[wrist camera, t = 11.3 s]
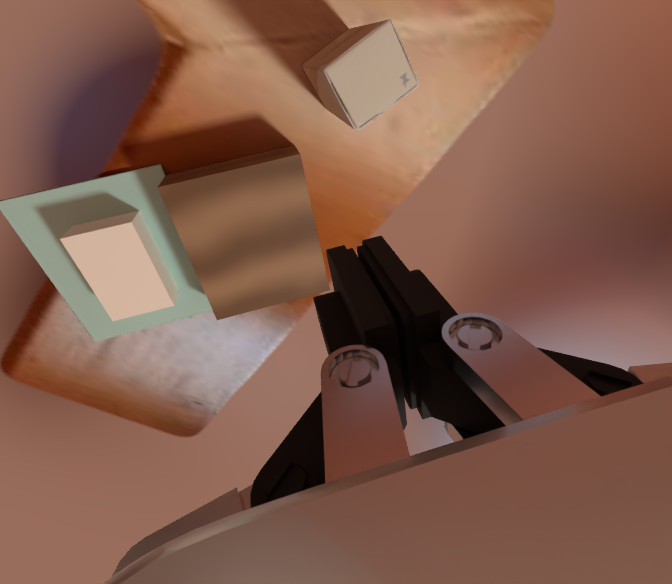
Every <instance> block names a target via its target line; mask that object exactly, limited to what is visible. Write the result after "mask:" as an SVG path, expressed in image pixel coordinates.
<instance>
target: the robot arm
mask: <svg viewBox="0 0 672 584" xmlns="http://www.w3.org/2000/svg"><path fill="white" fill-rule="evenodd" d="M326 252H327V258H328V262H329V267H330V272H331V277H332V281H333V286H334V291H335V292H331V293H327V294H324V295H320V296H316V297H313V298H314V303H315V306H316V311H317V315H318V319H319V322H320V326H321V330H322V333H323V337H324V341H325V344H326V348H327V351H328V354H329V356H328V357H327V358H326V360H325V361H324V363H323V365H322V369H321V390H322V391H321V393H320V394H319V395H318V396H317V398H316V399H315V400H314V401H313V403H312V404H311V405H310V407H309V408H308V409H307V411H306V412H305V413H304V414H303V416H302V417H301V419H300V420H299V421H298V422H297V424H296V425H295V426H294V427H293V429H292V430H291V431H290V433H289V434H288V435H287V437H286V438H285V439H284V440H283V442H282V443H281V444H280V446H279V447H278V448H277V449H276V451H275V452H274V454H273V455H272V456H271V457H270V459H269V460H268V461H267V462H266V464H265V465H264V466H263V468H262V469H261V470H260V472H259V474H258V475H257V477H256V479H255V480H254V483H253V485H251V486H249V487H247V488H245V489H244V490H242V491H240V492H239V490H238V488H235V489H233V490H231V491H229V492H227V493H226V494H224V495H222V496H220V497H218V498H216V499H215V500H213V501H211V502H209V503H207V504H206V505H204V506H202V507H200V508H198V509H196V510H195V511H193V512H191V513H189V514H187V515H185V516H184V517H182V518H180V519H178V520H176V521H175V522H173V523H171V524H169V525H167V526H165V527H163V528H162V529H160V530H158V531H156V532H154V533H152V534H151V535H149V536H147V537H145V538H144V539H142V540H141V541H140V542H138V543H137V544H136V545H134V546H133V547H132V548H131V549H130V550H129V551H128V552H127V553H126V555H125V556H124V557H123V558H122V559H121V561H120V562H119V564H118V566H117V568H116V570H115V572H114V574H113V576H112V577H111V578H110V579H108V580H107V581H106V582H104V583H103V584H672V363H664V364H653V365H642V366H631V367H629V369H628V371H625V370H623V369H621V368H618V367H615V366H612V365H609V364H604V363H600V362H596V361H592V360H588V359H583V358H579V357H575V356H571V355H566V354H562V353H558V352H554V351H549V350H545V349H541V348H536V347H535V346H534V345H532V344H531V343H530V342H528V341H527V340H526V339H524V338H523V337H522V336H520V335H519V334H518V333H516V332H515V331H514V330H512V329H511V328H510V327H508V326H507V325H505V324H504V323H503V322H502V321H500V320H498V319H497V318H495V317H493V316H490V315H486V314H481V313H463V314H460V315H458V314H457V313H456V312H455V310H454V309H453V308H452V307H451V306H450V305H449V303H448V302H447V301H446V300H445V299H444V297H443V296H442V295H441V294H440V293H439V292H438V290H437V289H436V288H435V287H434V286H433V285H432V283H431V282H430V281H429V280H428V279H427V277H426V276H425V275H424V274H423V273H422V272H421V271H420V270H413V271H409V270H408V269H407V267H406V266H405V265H404V264H403V262H402V261H401V260H400V259H399V257H398V256H397V255H396V254H395V252H394V251H393V250H392V249H391V247H390V246H389V245H388V244H387V242H386V241H385V240H384V239H383V237H382V236H378V237H374V238H370V239H366V240H363V242H362V246H358V247H357V253H358V257H357V255H356V253H355V251H354V250H353V248H350V249H346V247H345V246H344V245H343V246H339V247H335V248H331V249H327V250H326ZM404 398H405V400H406V402H407V403H408V406H409V407H410V409H414V408H417V409H418V411H419V413H420V415H421V417H422V419H425V418H429V417H434V418H436V419H439V420H442V421H443V423H444V427H445V429H446V431H447V433H448V434H449V435H450V437H451V438H452V439H453V441H454V443H450V444H447V445H444V446H441V447H438V448H434V449H432V450H428V451H425V452H422V453H419V454H415V455H412V456H410V455H409V451H408V447H407V443H406V439H405V435H404V429H405V427H406V425H407V421H406V410H405V400H404Z"/></svg>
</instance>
